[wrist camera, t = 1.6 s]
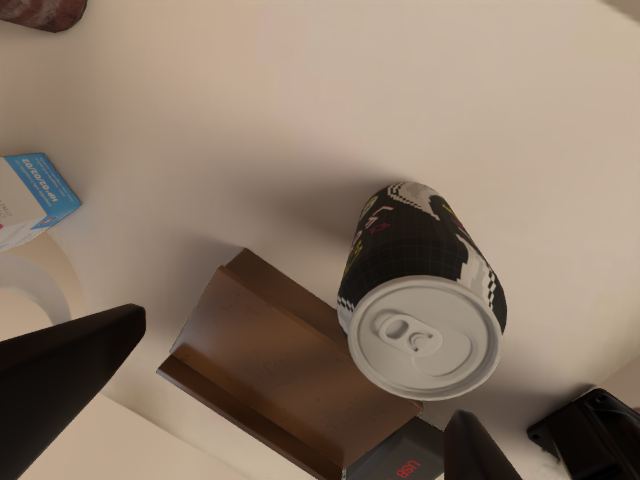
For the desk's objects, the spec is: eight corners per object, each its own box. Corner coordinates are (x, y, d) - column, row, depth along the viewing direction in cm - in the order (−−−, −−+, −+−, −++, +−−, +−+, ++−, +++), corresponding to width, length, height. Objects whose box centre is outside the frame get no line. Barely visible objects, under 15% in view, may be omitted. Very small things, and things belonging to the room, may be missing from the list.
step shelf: (418, 365, 24) (426, 430, 19) (347, 426, 28) (337, 493, 23) (244, 244, 23) (204, 279, 18) (196, 324, 27) (152, 371, 22)
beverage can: (393, 161, 19) (398, 221, 8) (470, 211, 19) (579, 336, 8) (344, 233, 21) (297, 355, 10) (413, 277, 22) (438, 442, 11)
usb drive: (452, 436, 26) (459, 470, 23) (377, 500, 31) (376, 534, 28) (398, 406, 26) (399, 436, 24) (332, 474, 31) (327, 506, 28)
